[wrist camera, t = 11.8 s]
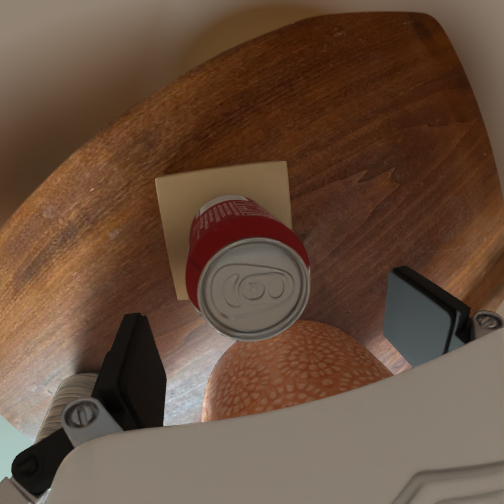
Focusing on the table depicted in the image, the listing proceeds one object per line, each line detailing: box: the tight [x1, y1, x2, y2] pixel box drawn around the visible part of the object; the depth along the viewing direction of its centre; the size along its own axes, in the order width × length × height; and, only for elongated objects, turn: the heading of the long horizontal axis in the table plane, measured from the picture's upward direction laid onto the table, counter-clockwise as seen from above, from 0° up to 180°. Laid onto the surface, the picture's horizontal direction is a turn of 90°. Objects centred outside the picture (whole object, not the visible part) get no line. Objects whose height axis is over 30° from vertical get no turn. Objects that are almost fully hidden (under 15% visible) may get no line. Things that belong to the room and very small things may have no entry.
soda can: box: [185, 194, 310, 342], centre depth 20 cm, size 7×7×12 cm
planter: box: [202, 320, 394, 422], centre depth 27 cm, size 21×21×19 cm
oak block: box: [155, 160, 293, 300], centre depth 27 cm, size 11×11×4 cm
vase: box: [34, 372, 99, 444], centre depth 22 cm, size 12×12×23 cm
